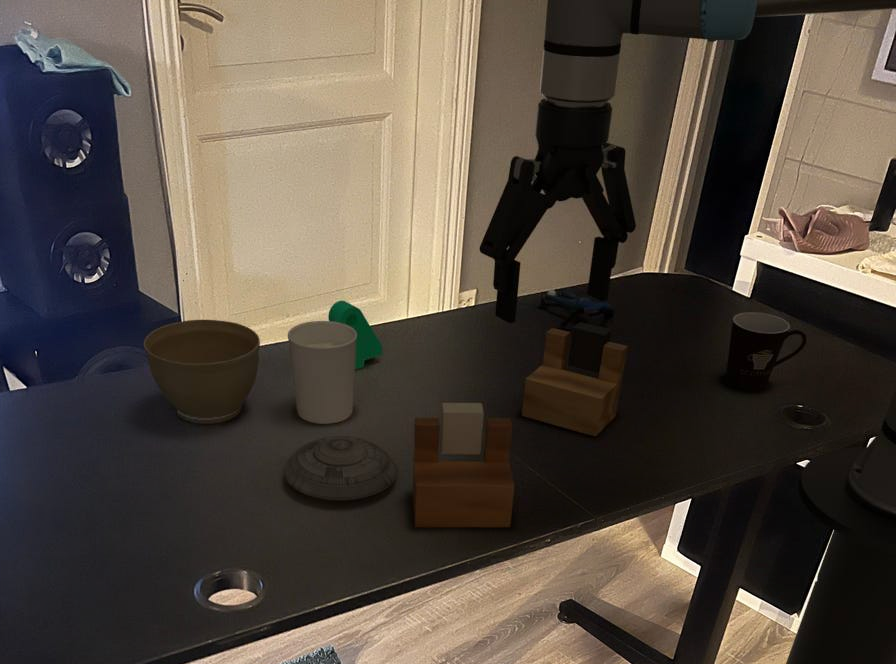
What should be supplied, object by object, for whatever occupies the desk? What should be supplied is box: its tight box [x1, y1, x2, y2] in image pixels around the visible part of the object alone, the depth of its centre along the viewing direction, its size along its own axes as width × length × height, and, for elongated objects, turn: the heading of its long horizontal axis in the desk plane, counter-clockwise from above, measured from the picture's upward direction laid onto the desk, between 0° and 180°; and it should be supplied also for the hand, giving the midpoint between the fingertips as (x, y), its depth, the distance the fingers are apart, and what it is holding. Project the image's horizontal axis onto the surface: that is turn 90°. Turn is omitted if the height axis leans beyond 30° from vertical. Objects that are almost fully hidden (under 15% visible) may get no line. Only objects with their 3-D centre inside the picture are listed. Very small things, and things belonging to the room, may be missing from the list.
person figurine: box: [540, 289, 615, 330], centre depth 175 cm, size 11×4×18 cm
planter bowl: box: [143, 319, 261, 425], centre depth 141 cm, size 16×16×11 cm
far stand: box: [521, 327, 629, 437], centre depth 143 cm, size 8×12×11 cm, turn 60°
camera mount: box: [327, 300, 383, 370], centre depth 156 cm, size 12×8×10 cm, turn 127°
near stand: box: [411, 417, 516, 528], centre depth 121 cm, size 8×12×11 cm, turn 93°
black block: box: [567, 321, 612, 374], centre depth 144 cm, size 3×5×6 cm, turn 60°
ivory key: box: [439, 402, 485, 455], centre depth 122 cm, size 3×5×6 cm, turn 93°
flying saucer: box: [283, 435, 398, 502], centre depth 128 cm, size 15×15×6 cm
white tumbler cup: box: [287, 320, 357, 425], centre depth 141 cm, size 10×10×12 cm
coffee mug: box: [724, 311, 807, 393], centre depth 154 cm, size 12×9×10 cm
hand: (552, 308), depth 111 cm, fingers open, 13 cm apart
